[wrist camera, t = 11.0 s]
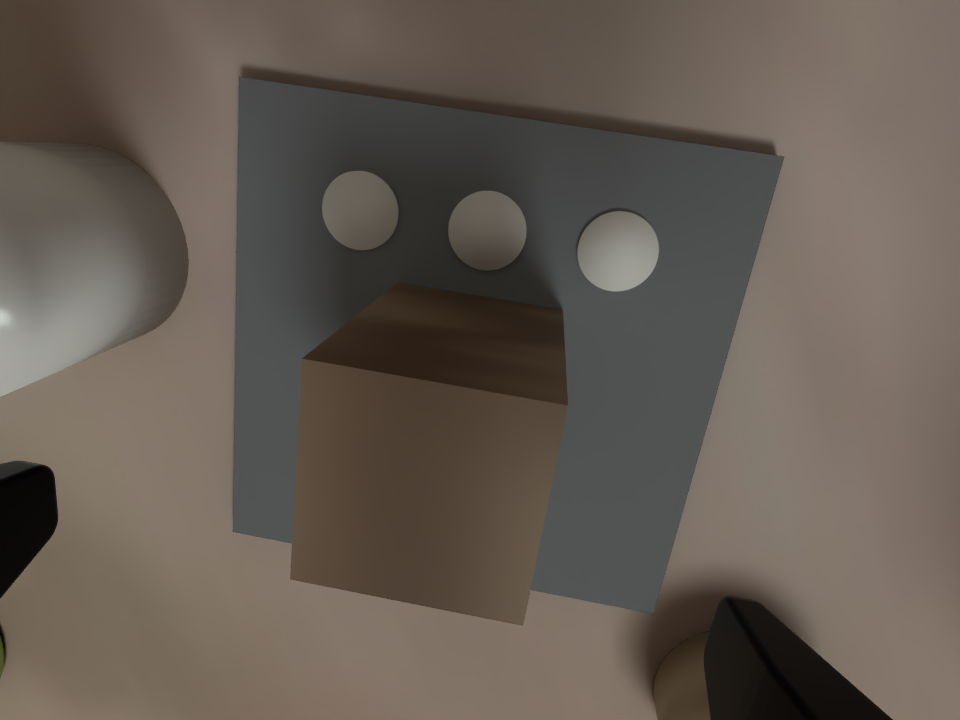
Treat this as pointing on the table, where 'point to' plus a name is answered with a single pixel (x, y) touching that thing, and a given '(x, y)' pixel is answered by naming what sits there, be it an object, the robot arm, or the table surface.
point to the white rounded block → (80, 257)
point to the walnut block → (430, 450)
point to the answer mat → (501, 293)
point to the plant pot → (1, 657)
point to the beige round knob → (683, 683)
